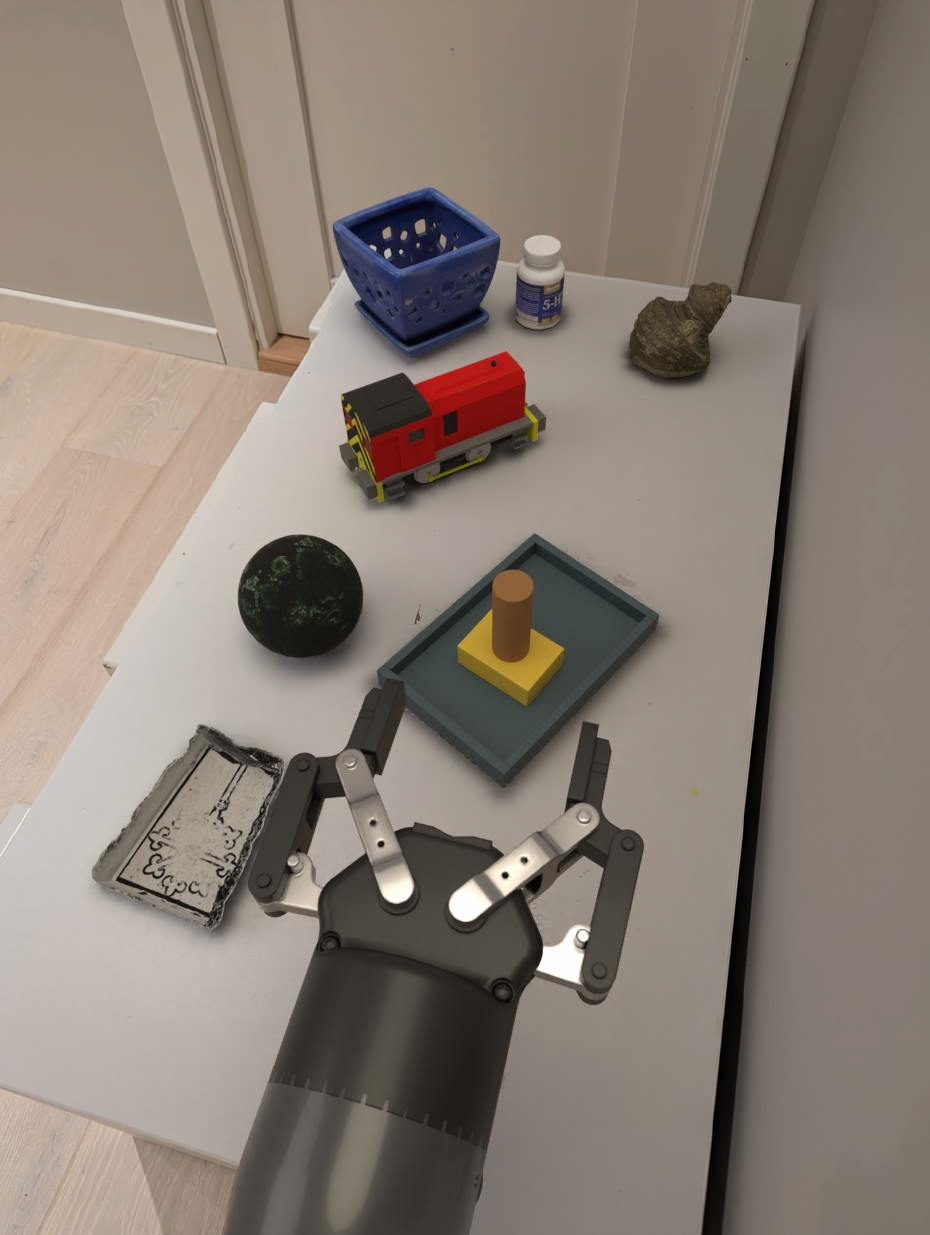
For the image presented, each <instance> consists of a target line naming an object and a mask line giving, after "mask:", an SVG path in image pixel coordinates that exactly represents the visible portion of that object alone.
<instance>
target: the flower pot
mask: <svg viewBox="0 0 930 1235" xmlns="http://www.w3.org/2000/svg"><path fill="white" fill-rule="evenodd" d="M423 220H424V227H425V230H424V231H422V232H419V233H417V230H416V224H417V223H418V222H419V221H423ZM388 228H389V230H390V236H388V237H386V238H384V233H383V232H384V231H385V230H386V229H388ZM332 232H333V233H332V234H333V237H334V241H335V245H336V249H337V252H338V256H339V258H340V261H341V264H342V266H343V269H344V271H345V273H346V276H347V278H348V279H349V282H350V283H351V285H352V287H353V288H354V290H355V292H356V293H357V295H358V297H359V298H360V299H359V300H356V301H355V302H354V307H355V309H356V310H357V311H358V312H359V314H361V316H362V317H364V319H365V320H367V321H368V323H370V324H371V325H372V326H373V327H374V328H375V329H376V330H377V331H378V332H380V333H381V335H383V336H384V337H385V338H386V339H387V340H388V341H389V342H390V343H392V345H394V347H395V348H397V349H398V350H399V351H400V352H401V353H403V354H404V355H405V356H406V357H408V358H410V359H412V358H415V357H418V356H421V355H423V354H424V353H428V352H430V351H432V350H435V349H437V348H439V347H442V346H444V345H446V344H448V343H451V342H453V341H455V340H458V339H460V338H462V337H464V336H466V335H468V334H470V333H472V332H475V331H477V330H479V329H480V328H482V327H483V326H484V325H486V323H487V322H488V321H489V320H490V317H491V315H490V313H489V312H488V311H487V310H486V309H485V308H483V307H482V305H481V304H482V302H483V300H484V299H485V297H486V295H487V293H488V291H489V289H490V286H491V284H492V282H493V278H494V276H495V272H496V270H497V266H498V262H499V257H500V256H499V255H500V249H501V236H500V234H499V233H497V231H495V230H494V229H493V228H492V227H491V226H489V225H487V224H486V223H485V222H484V221H483V220H481V219H480V218H478V217H477V216H476V215H474V214H473V213H471V212H470V211H468V210H467V209H466V208H464V207H463V206H462V205H460V204H459V203H457V202H455V201H454V200H453V199H452V198H451V197H449V196H447V195H445V193H443V192H441V191H440V190H438V189H436V188H434V187H430V186H429V187H424V188H421V189H417V190H415V191H411V192H408V193H404V194H402V195H399V196H396V197H394V198H391V199H388V200H385V201H382V202H380V203H377V204H373V205H372V206H367V207H366V208H364V209H361V210H358V211H355V212H353V213H351V214H348V215H346V216H344V217H341V218H340V219H338V220H335V221H334V222H333V224H332ZM403 232H406V237H405V239H402V235H403ZM442 236H443V237H444V238H445V244H444V246H443V245H442V244H441V237H442ZM418 244H419V245H418ZM417 245H418V246H417ZM371 246H372V247H375V249H373V248H372V247H371ZM387 250H389V251H390V256H388V257H386V255H385V252H386V251H387ZM400 251H402V252H401V253H400Z"/></svg>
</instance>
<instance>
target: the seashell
mask: <svg viewBox="0 0 930 1235" xmlns="http://www.w3.org/2000/svg"><path fill="white" fill-rule="evenodd" d="M732 293H733V292H732V288H731V287H730V286H729V285H727V284H726V283H725V284H724V283H718V282H714V281H713V282H709V283H707V284H705V285H701V284H698V283H692V284H690V285H689V290H688V292H687V296H686V298H685V299H684V300H683V301H682V300H677V301H676V300H669V299H666V298H665V297H663V296H655V298H654V299H652V300H651V301H649V302H648V303H646V305H645V307H643V308H642V310H641V311H640V312H639V313H637V318H636V319H635V321H634V324H633V329H632V331H631V332H630V335H629V343H628V347H629V351H630V358H631V361H632V362H633V363H634V365H635V366H636V367H637V368H642V369H644V370H646V371H647V372H649V373H651V374H653V375H654V376H657V377H659V378H663V379H668V378H677V379H678V378H684V377H689V376H691V375H695V374H697V373H700V372H701V373H702V372H704V371H705V370H706V369H708V367H710V363H711V359H710V358H711V350H710V343H709V335H711V333H712V332H713V330H714V329H715V326H716V325H717V324H718V322H719V321H720V320H721V318H722V317H723V315H724V313H725V311H726V309H727V308H728V306H729V305H730V304H731V303H732Z"/></svg>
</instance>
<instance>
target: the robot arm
mask: <svg viewBox="0 0 930 1235" xmlns="http://www.w3.org/2000/svg"><path fill="white" fill-rule="evenodd" d="M405 705H406V693H405V686H404V681H401V680H396V679H391V678H387V679H386V681H385V683H384V686H383V688H382V687H381V688H377V687H372V689H371V690H369V692H368V693H367V694H366V695H365V697H364V699H363V702H362V704H361V708H360V709H359V712H358V714H357V717H356V720H355V722H354V725H353V728H352V731H351V734H350V736H349V738H348V741H347V743H346V745H345V747H344V748H343V750H341V751H339V753H336V754H333V755H328V756H318V757H316V756H315V755H314V754H312V753H310V752H299V753H297V754H295V755H294V756H292V758H291V759H290V760H289V762H288V765H287V768H286V769H285V770H286V771H285V772H284V776H283V779H282V781H281V784H280V786H279V790H278V793H277V796H276V799H275V802H274V805H273V808H272V810H271V814H270V816H269V819H268V822H267V825H266V828H265V830H264V834H263V836H262V839H261V842H260V844H259V848H258V851H257V854H256V856H255V860H254V862H253V864H252V867H251V871H250V873H249V876H248V880H247V888H248V891H249V892H250V894H251V895H252V898H253V899H254V901H255V902H256V904H257V905H258V907H259V908H260V909H261V910H262V911H263V913H264V914H265V915H266V916H268V917H269V918H280V917H282V916H284V915H286V914H287V913H290V914H295V915H300V916H307V917H310V918H315V919H318V923H319V924H318V925H319V928H318V937H317V941H316V945H315V947H314V950H313V952H312V955H311V958H310V960H309V963H308V966H307V969H306V973H305V975H304V978H303V981H302V983H301V986H300V989H299V992H298V995H297V998H296V1001H295V1003H294V1006H293V1009H292V1012H291V1014H290V1018H289V1020H288V1023H287V1026H286V1029H285V1032H284V1035H283V1038H282V1040H281V1044H280V1046H279V1049H278V1052H277V1055H276V1058H275V1060H274V1064H273V1066H272V1070H271V1072H270V1074H269V1077H268V1081H267V1082H266V1083H267V1084H266V1087H265V1090H264V1092H263V1095H262V1097H261V1101H260V1103H259V1106H258V1109H257V1111H256V1115H255V1118H254V1119H253V1123H252V1126H251V1128H250V1132H249V1134H248V1138H247V1140H246V1142H245V1145H244V1149H243V1151H242V1154H241V1157H240V1160H239V1163H238V1167H237V1169H236V1173H235V1176H234V1179H233V1184H232V1187H231V1191H230V1196H229V1200H228V1204H227V1208H226V1213H225V1219H224V1223H223V1226H222V1231H221V1235H470V1234H471V1229H472V1225H473V1220H474V1215H475V1210H476V1206H477V1204H478V1202H479V1199H480V1197H481V1194H482V1189H483V1184H484V1168H485V1162H486V1159H487V1155H488V1149H489V1144H490V1139H491V1134H492V1130H493V1126H494V1121H495V1115H496V1112H497V1106H498V1103H499V1097H500V1092H501V1087H502V1083H503V1079H504V1073H505V1069H506V1064H507V1059H508V1054H509V1051H510V1050H509V1049H510V1046H511V1040H512V1036H513V1031H514V1026H515V1023H516V1022H515V1021H516V1017H517V1012H518V1008H519V1004H520V999H521V997H522V995H523V993H524V991H525V990H526V988H527V987H528V985H529V984H530V983H531V982H532V981H533V980H534V979H535V977H536V978H539V979H541V980H545V981H547V982H549V983H550V982H551V983H554V984H556V985H559V986H562V987H564V988H568V989H571V990H573V991H576V994H577V996H578V998H579V999H580V1000H581V1002H583V1003H585V1004H587V1005H589V1006H598V1005H600V1004H602V1003H603V1002H605V1000H606V999H607V997H608V995H609V993H610V991H611V989H612V988H613V985H614V983H615V981H616V978H617V976H618V972H619V971H618V970H619V966H620V961H621V956H622V952H623V947H624V942H625V938H626V934H627V930H628V925H629V924H628V923H629V921H630V920H629V919H630V915H631V910H632V906H633V901H634V896H635V892H636V888H637V883H638V878H639V873H640V868H641V864H642V861H643V860H642V859H643V855H644V851H645V843H644V840H643V838H642V836H641V835H640V834H639V833H638V832H636V831H635V830H632V829H628V828H627V829H626V828H625V829H621V828H620V827H618V826H617V825H615V824H613V823H612V822H610V820H608V819H607V817H606V816H605V814H604V812H603V801H604V795H605V790H606V785H607V781H608V773H609V769H610V762H611V757H612V752H613V750H612V747H611V744H610V739H607V738H602V737H598V733H599V729H600V724H599V723H594V722H590V721H586V720H583V721H582V724H581V727H580V733H579V737H578V743H577V747H576V752H575V757H574V761H573V766H572V770H571V771H572V772H571V776H570V782H569V785H568V790H567V795H566V800H565V807H564V811H563V813H562V814H561V815H560V816H558V817H557V818H556V819H554V820H553V821H552V822H551V823H549V824H548V825H547V826H546V827H544V828H543V829H542V830H540V831H539V830H537V831H534V832H533V833H530V834H529V835H528V836H527V837H526V838H525V839H523V840H522V841H521V842H519V843H518V844H517V845H516V846H514V847H513V848H511V849H510V850H508V852H507V853H505V854H504V853H503V852H502V851H501V850H500V849H498V848H497V847H495V846H493V845H494V844H493V841H494V840H490V839H487V838H483V837H479V836H476V835H475V836H474V835H456V836H455V835H450V834H448V833H446V832H444V831H443V830H442V829H439V828H438V827H435V826H433V825H430V824H426V823H421V822H418V821H414V822H413V825H412V826H406V827H402V828H399V829H397V830H394V828H393V826H392V823H391V820H390V818H389V815H388V812H387V810H386V807H385V805H384V802H383V799H382V797H381V794H380V792H379V791H378V788H377V785H376V783H375V780H374V779H375V777H376V776H382V775H383V773H384V770H385V767H386V764H387V761H388V758H389V755H390V753H391V750H392V747H393V744H394V742H395V739H396V735H397V733H398V730H399V727H400V725H401V724H400V723H401V721H402V718H403V715H404V713H405V710H406V707H405ZM336 798H345V799H346V802H347V805H348V807H349V810H350V813H351V816H352V818H353V821H354V824H355V827H356V830H357V833H358V835H359V836H358V837H359V839H360V842H361V845H362V847H363V850H364V853H363V854H362V855H360V856H359V857H358V858H356V860H354V861H353V862H351V863H350V864H348V866H346V867H345V868H343V869H342V870H341V871H340V872H338V873H336V874H335V875H334V876H333V877H331V878H330V879H329V880H328V881H327V882H326V883H325V884H324V886H320V885H318V884H317V883H316V879H317V878H316V877H317V870H316V867H315V865H314V863H313V860H312V858H311V857H310V856H309V851H310V848H311V844H312V841H313V838H314V835H315V832H316V829H317V825H318V822H319V820H320V817H321V813H322V810H323V806H324V803H325V801H326V799H336ZM583 858H586V859H588V860H590V861H591V862H593V863H594V864H596V865H597V866H599V867H601V868H602V869H603V870H602V874H601V877H600V882H599V887H598V891H597V895H596V898H595V904H594V907H593V912H592V916H591V920H590V924H589V926H588V925H586V924H575V925H573V926H571V927H570V928H569V929H568V930H567V931H566V933H565V935H564V937H563V938H562V940H561V941H560V942H559V943H557V944H556V945H551V946H550V945H549V946H548V945H545V944H544V940H543V936H542V934H541V932H540V929H539V927H538V923H537V922H536V919H535V917H534V915H533V913H532V911H531V908H530V906H529V905H530V904H532V903H533V902H534V901H535V900H537V899H538V898H539V897H540V896H541V895H543V894H544V893H546V891H548V890H549V889H550V887H552V885H554V883H555V882H556V881H557V879H558V878H560V876H562V875H563V874H564V873H566V871H568V870H569V869H570V868H572V866H574V865H575V864H577V862H579V861H581V859H583Z"/></svg>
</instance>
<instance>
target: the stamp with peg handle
mask: <svg viewBox="0 0 930 1235" xmlns="http://www.w3.org/2000/svg"><path fill="white" fill-rule="evenodd" d="M533 593H534V583H533V581H532V579H531V577H530V576H529V575H528V574H526V573H524V572H522V571H519V570H506V571H503V572H501V573H500V574H498V575H497V576H496V577H495V579H494V581H493V585H492V609H491V610H490V611H489V613H488V614H487V615H486V616H485V617H484V618H483V619H482V620H481V621H480V622H479V623H478V624H477V625H476V626H475V628H474V629H473V630H472V631H471V632H470V633H469V634H468V635H467V636H466V637H465V638H464V639H463V640H462V641H461V643H460V644H459V645H458V646H457V649H458V663H460V664H461V665H463V666H464V667H466V668H467V669H469V670H470V671H472V672H474V673H475V674H477V675H478V676H480V677H481V678H483V679H484V680H486V681H488V682H489V683H491V684H492V685H494V686H495V687H497V688H498V689H500V690H501V691H503V692H505V693H506V694H508V695H509V696H511V697H512V698H514V699H515V700H517V701H518V702H520V703H522V704H523V705H525V706H526V707H527V706H528V705H529V704H530V703H531V702H532V701H533V699H534V698H535V697H536V696H537V695H538V693H539V692H540V691H541V690H542V689H543V688H544V686H545V685H546V684H547V683H548V682H549V680H550V679H551V678H552V677H553V676H554V674H555V673H556V672H557V671H558V670H559V668H560V667H561V666H562V663H563V655H564V648H563V647H561V646H559V645H558V644H556V643H554V642H553V641H551V640H550V639H548V638H546V637H545V636H543V635H541V634H540V633H538V632H536V631H535V630H533V629H531V621H532V607H533Z"/></svg>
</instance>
